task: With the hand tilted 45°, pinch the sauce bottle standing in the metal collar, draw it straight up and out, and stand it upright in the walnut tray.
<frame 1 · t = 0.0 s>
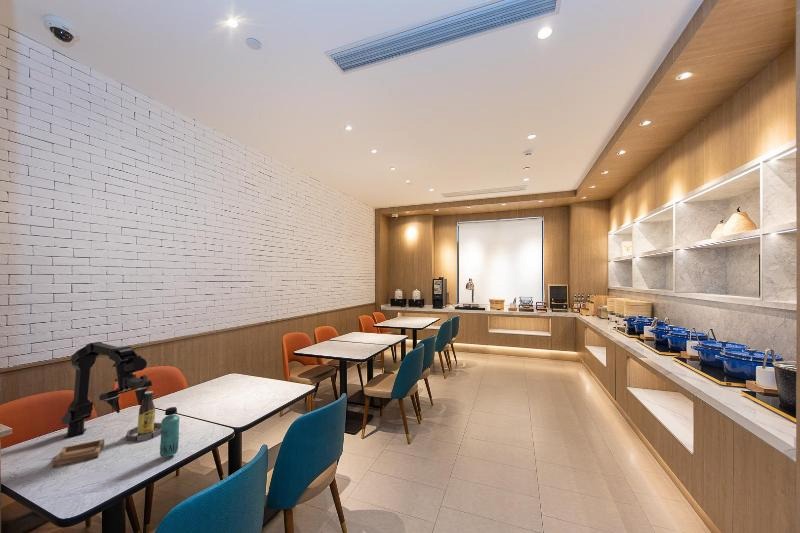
hand: (129, 408, 144), 16 cm above the table, tool pointing down, fingers open, 9 cm apart
beverage bottle: (169, 457, 133), on the table
sauce bottle: (145, 435, 152), resting in metal collar, touching gripper
metal collar: (145, 434, 152), on the table
walnut tray: (80, 455, 133), on the table
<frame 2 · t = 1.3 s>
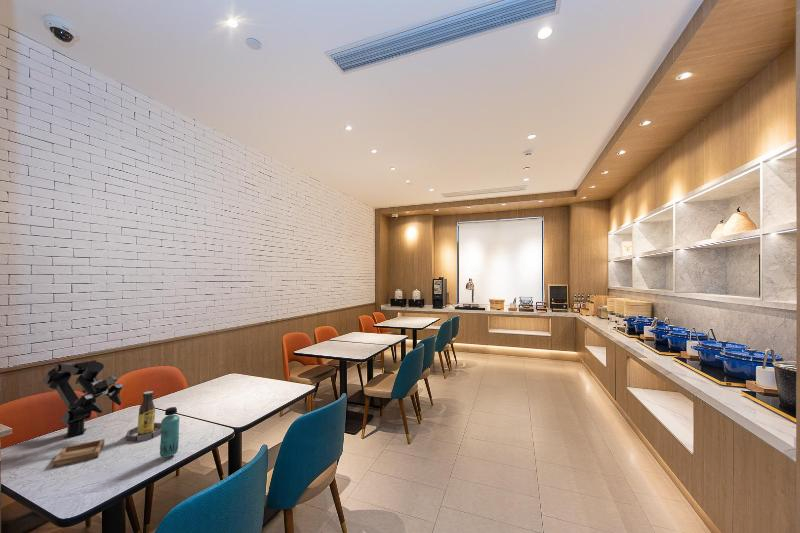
hand: (111, 408, 149), 14 cm above the table, tool tilted 45°, fingers open, 9 cm apart
sauce bottle: (145, 435, 152), resting in metal collar
everything else where it was.
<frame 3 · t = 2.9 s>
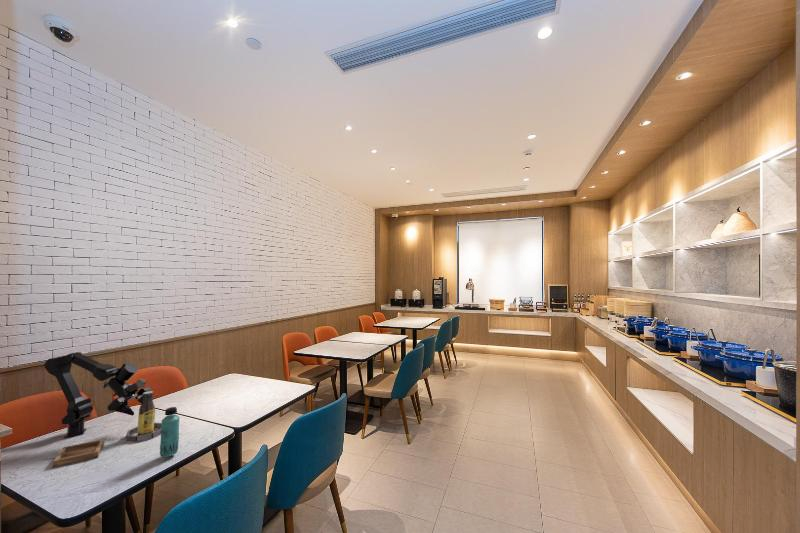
hand: (141, 410, 152), 11 cm above the table, tool tilted 45°, fingers open, 9 cm apart
nothing on the table moved.
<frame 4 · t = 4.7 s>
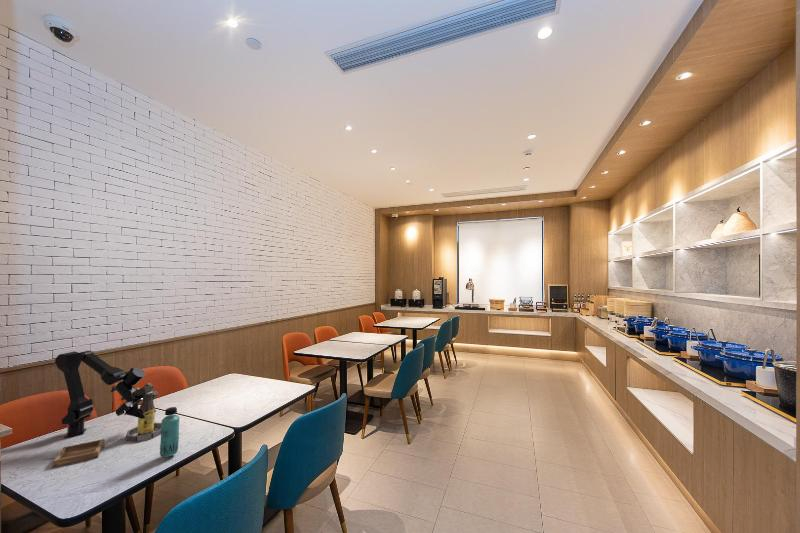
hand: (149, 415, 152), 9 cm above the table, tool tilted 45°, fingers closed on sauce bottle, 6 cm apart
sauce bottle: (145, 434, 152), resting in metal collar, touching gripper
everything else where it was.
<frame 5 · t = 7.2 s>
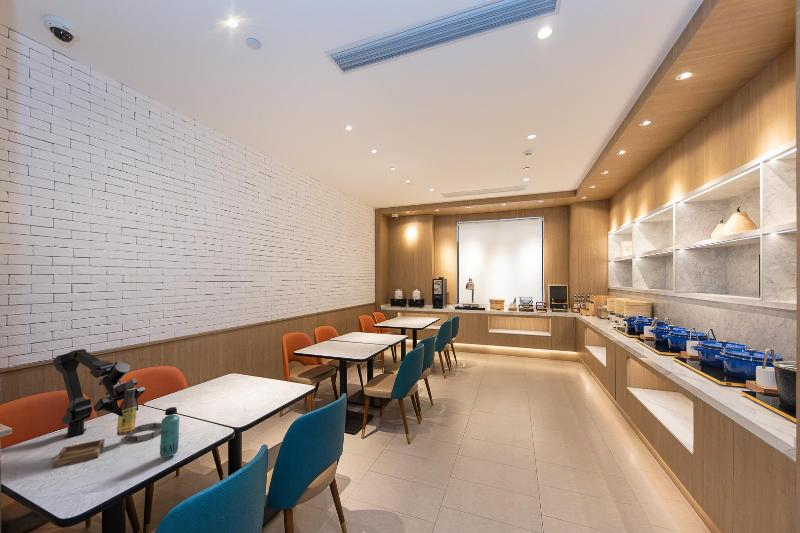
hand: (129, 412, 145), 13 cm above the table, tool tilted 45°, fingers closed on sauce bottle, 6 cm apart
sauce bottle: (126, 433, 144), point 4 cm above the table, touching gripper
everything else where it was.
when the fingers open (11 cm above the table, at t = 9.9 s): sauce bottle drops 1 cm, resting on walnut tray.
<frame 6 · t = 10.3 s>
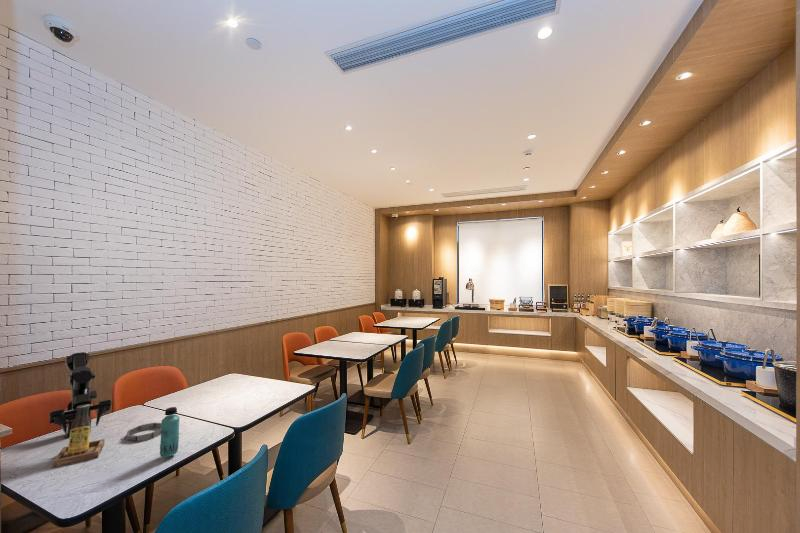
hand: (81, 429, 133), 11 cm above the table, tool tilted 45°, fingers open, 9 cm apart
sauce bottle: (78, 454, 133), point 1 cm above the table, touching walnut tray
everything else where it was.
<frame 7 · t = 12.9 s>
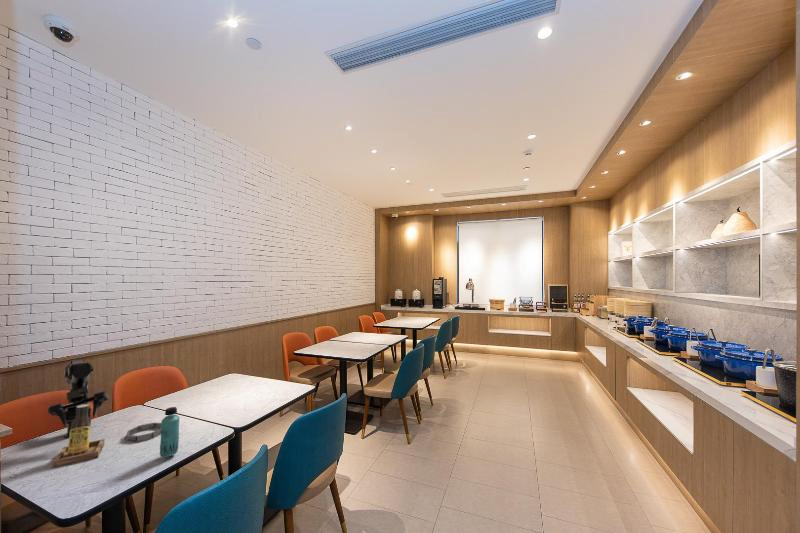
hand: (79, 421, 140), 11 cm above the table, tool tilted 40°, fingers open, 9 cm apart
nothing on the table moved.
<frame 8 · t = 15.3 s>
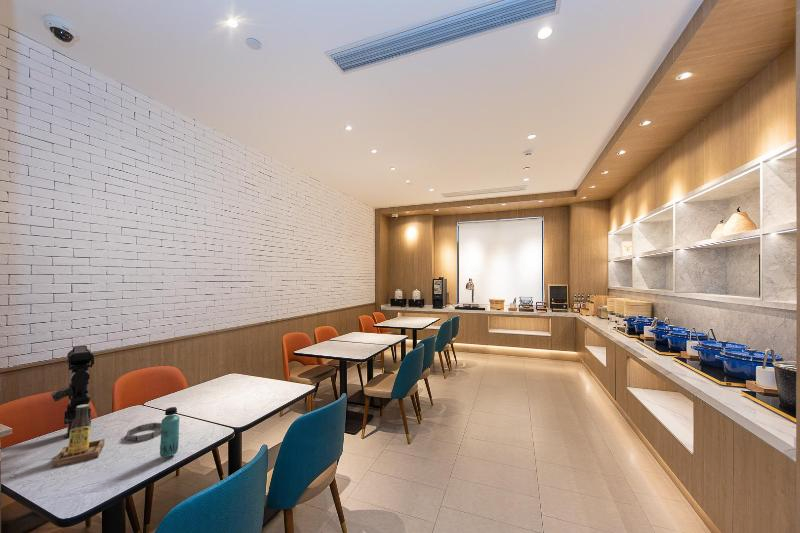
hand: (77, 414, 143), 13 cm above the table, tool pointing down, fingers open, 9 cm apart
nothing on the table moved.
at the end: sauce bottle inside the target area on the walnut tray (0.5 cm from its centre), point 0.6 cm above the walnut tray's base; sauce bottle tilted 0°; the gripper is holding nothing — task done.
